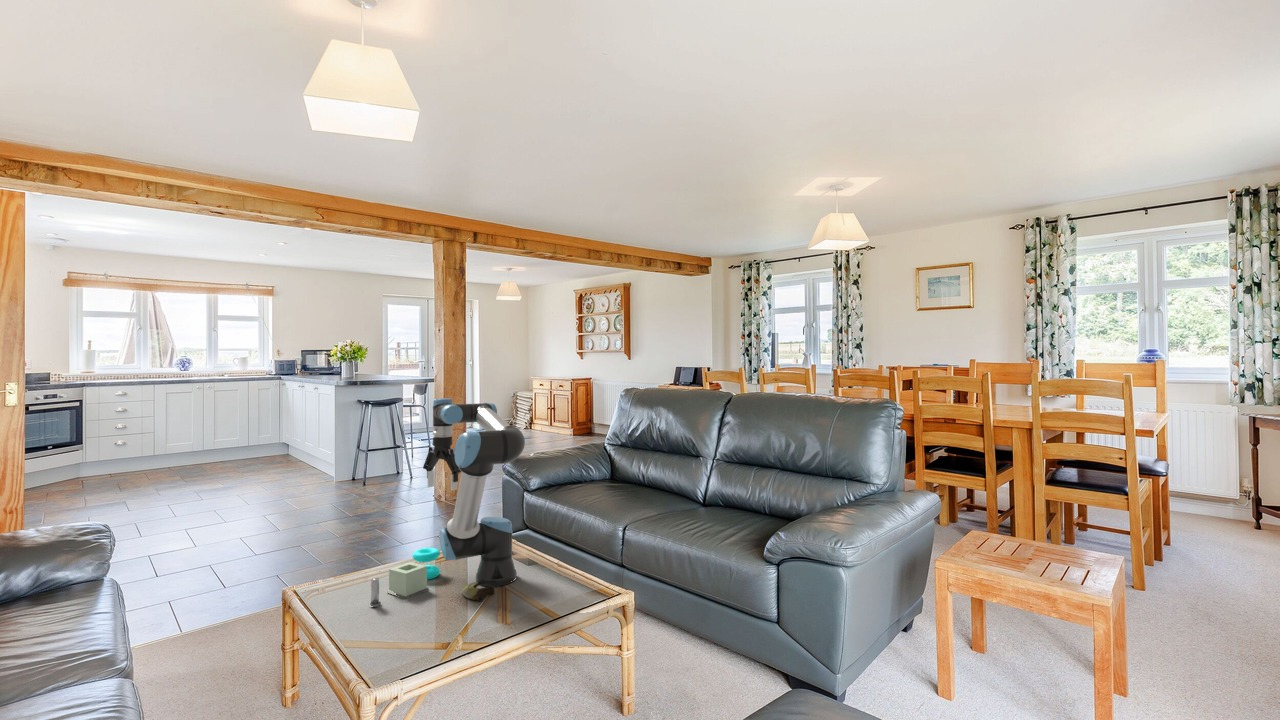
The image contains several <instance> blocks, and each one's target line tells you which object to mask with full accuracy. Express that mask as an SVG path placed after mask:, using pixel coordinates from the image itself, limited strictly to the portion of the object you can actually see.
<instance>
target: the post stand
mask: <svg viewBox="0 0 1280 720" xmlns="http://www.w3.org/2000/svg"><path fill="white" fill-rule="evenodd" d="M370 583H371V584H370V587H371V588H370V602H369V603H370V605H371V606H373V607H376V608H379V607H381V606H382V604H381V603H382V602H381V601H380V596H379V595H380V578H379V577H373V578H371V579H370Z"/></svg>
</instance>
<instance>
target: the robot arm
mask: <svg viewBox="0 0 1280 720" xmlns="http://www.w3.org/2000/svg"><path fill="white" fill-rule="evenodd" d="M467 423H477V424H478V425H480V427H482V428H483V429H484V430H481V431H479V430H478V431H477V430H472V431H465V432H462V433H461V434H460V435H459V436H458V438H457V440H456V443H455V447H454V448H451V446H452V445H453V436H452V435H453V425H455V424H467ZM432 435H433V438H432V446H429V447H428V451H427V455H426V458H425V461H424V463H423V467H422V468H423V470H425V471H426V479H427V488H432V487H435V469H434V468H435V467H436V465H437V463H438V462H439V460H443V461H444V462H446V464H447V467H448V468H449V469H450V470H449V471H450V472H451V474H450V491H452V492H453V491H456V490H457V495H456V500H455V506H454V511H453V516H452V518H450V519H449V520H448V522H447V525H446V527H443V528H441V529H440V530H439V545H440V550H441V554H442V556H443V558H444V560H446V561H457V560H462V559H467V558H473V557H480V562H479V565H478V569H477V572H476V575H475V582H477V583H478V584H477V585H478V586H483V587H490V586H492V587H500V586H505V584H506V585H509V584H511V583H510V582H511V581H513V580H514V579H515V578H516V576H517V570H516V568H515V564H514V560H513V533H514V532H513V524H512V520H510V519H509V518H505V517H500V516H485V517H482V518H480V522H479V521H478V518H479V515H480V514H479V513H480V509H481V505H482V499H483V496H484V490H485V486H486V485H485V484H486V481H487V476H488V475H490V474H492V472H493V469H494V465H503V464H508V463H510V462H513V461H516V459H518V458H519V457H520V456H521V455H522V453H523V452H524V448H525V445H526V439H525V436H524V434H523V433H522V431H521V430H520V428H518V427H516V426H514V425H510V424H509V423H508V422H506V420H504V419H503V418H502V417H501V416H500V415H499V414H498V408H497V406H496V404H494V403H489V402H483V403H457V404H456V403H455V404H454V403H453V399H452V398H448V397H447V398H435V399H433V402H432ZM460 473H461V474H460ZM459 474H460V478H459ZM458 481H459V483H458ZM516 579H517V578H516ZM508 583H509V584H508Z"/></svg>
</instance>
